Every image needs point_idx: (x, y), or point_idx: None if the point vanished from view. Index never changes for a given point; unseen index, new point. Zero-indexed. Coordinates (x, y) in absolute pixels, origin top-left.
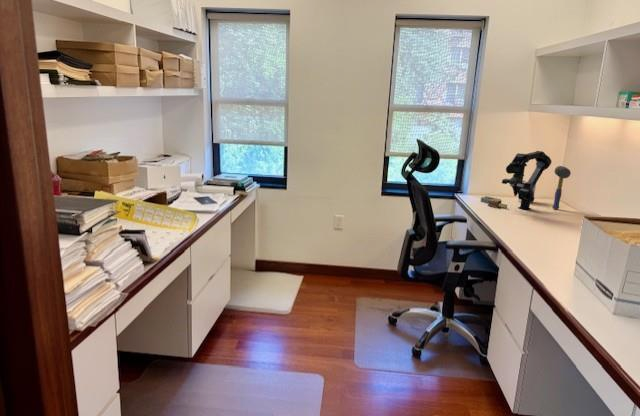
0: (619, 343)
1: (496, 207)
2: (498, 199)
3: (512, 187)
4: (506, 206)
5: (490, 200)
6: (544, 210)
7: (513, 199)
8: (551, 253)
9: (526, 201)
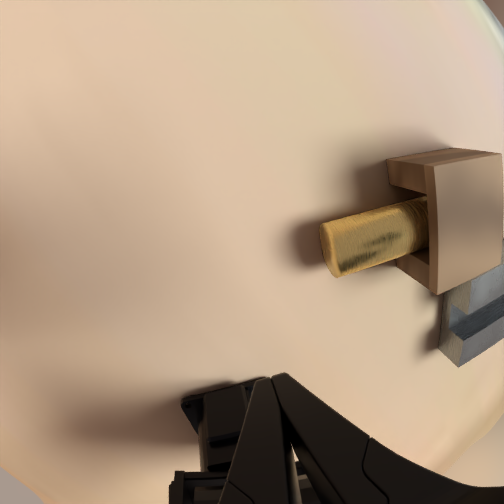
0: None
1: (389, 164)
2: (468, 342)
3: (480, 496)
4: (332, 258)
5: (488, 155)
6: (152, 480)
7: None
8: None
9: (206, 462)
